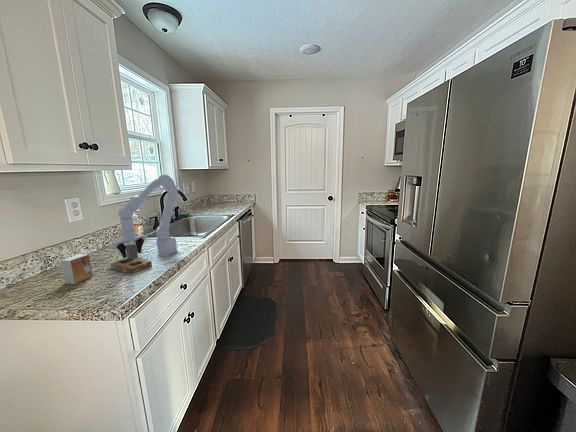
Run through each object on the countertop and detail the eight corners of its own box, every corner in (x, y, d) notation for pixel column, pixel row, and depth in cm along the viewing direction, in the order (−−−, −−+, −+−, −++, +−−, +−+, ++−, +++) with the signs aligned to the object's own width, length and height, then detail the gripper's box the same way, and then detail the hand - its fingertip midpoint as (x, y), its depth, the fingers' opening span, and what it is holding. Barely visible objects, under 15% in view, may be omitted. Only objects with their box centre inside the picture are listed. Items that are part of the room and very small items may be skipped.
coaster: (135, 256, 133) (135, 256, 133) (142, 258, 130) (141, 257, 130) (123, 260, 128) (123, 259, 127) (130, 262, 125) (130, 261, 125)
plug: (134, 257, 131) (132, 242, 130) (138, 257, 129) (135, 243, 128) (127, 259, 128) (125, 244, 126) (131, 260, 126) (129, 245, 125)
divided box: (132, 262, 125) (131, 256, 124) (152, 267, 117) (151, 261, 117) (110, 269, 116) (109, 263, 115) (130, 275, 109) (129, 269, 108)
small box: (74, 284, 101) (69, 260, 99) (64, 283, 102) (59, 260, 100) (93, 276, 109) (89, 254, 107) (83, 275, 110) (79, 253, 108)
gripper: (137, 226, 134) (141, 250, 136) (108, 232, 121) (113, 258, 124) (145, 227, 131) (149, 251, 133) (116, 234, 118) (121, 260, 121)
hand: (132, 255), depth 128 cm, fingers open, 7 cm apart
